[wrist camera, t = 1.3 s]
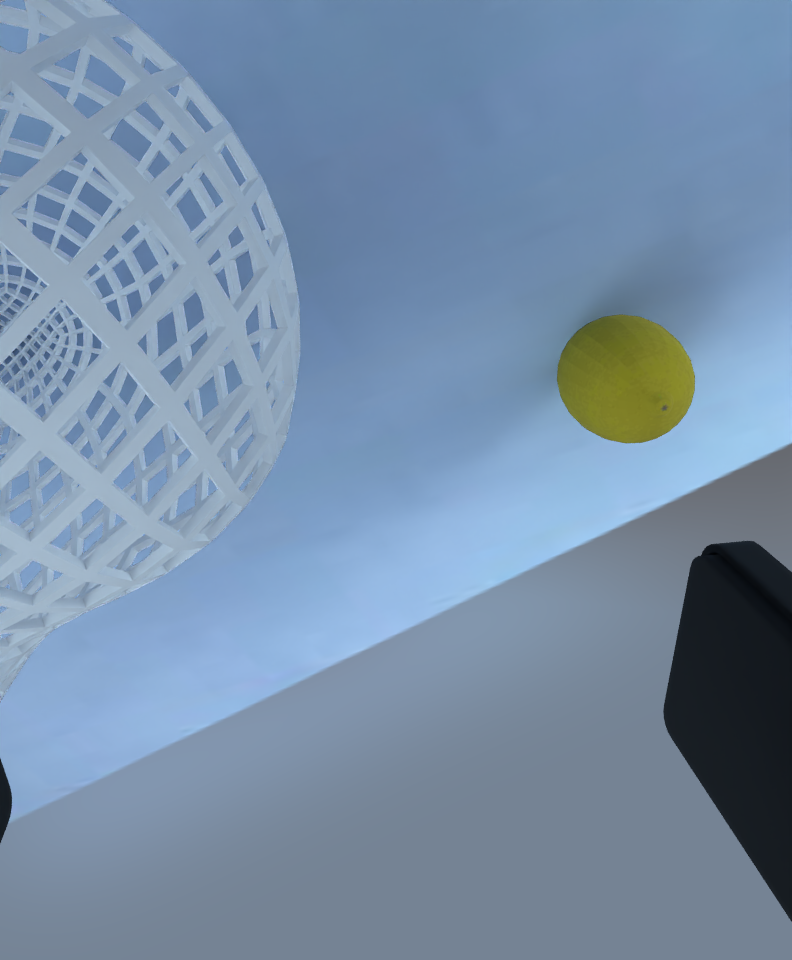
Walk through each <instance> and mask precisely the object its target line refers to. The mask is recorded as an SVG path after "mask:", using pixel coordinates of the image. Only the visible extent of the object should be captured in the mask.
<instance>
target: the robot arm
mask: <svg viewBox="0 0 792 960" xmlns="http://www.w3.org/2000/svg"><path fill="white" fill-rule="evenodd" d="M664 720H665V725H666V728H667V730H668V733H669V734H670V736H671V738H672V740H673V741H674V743H675V744H676V746H677V747H678V749H679V750H680V752H681V753H682V755H683V756H684V758H685V760H686V761H687V763H688V764H689V765H690V767H691V769H692V770H693V772H694V773H695V775H696V776H697V778H698V779H699V781H700V782H701V784H702V786H703V787H704V788H705V790H706V792H707V793H708V795H709V796H710V798H711V799H712V801H713V802H714V804H715V805H716V807H717V808H718V810H719V811H720V813H721V815H722V816H723V817H724V819H725V821H726V822H727V824H728V825H729V827H730V828H731V829H732V831H733V833H734V834H735V836H736V837H737V839H738V840H739V842H740V844H741V845H742V847H743V848H744V849H745V851H746V853H747V854H748V856H749V857H750V859H751V860H752V862H753V863H754V865H755V866H756V868H757V870H758V871H759V872H760V874H761V876H762V877H763V879H764V880H765V882H766V883H767V885H768V886H769V888H770V889H771V891H772V892H773V894H774V895H775V897H776V899H777V900H778V901H779V903H780V904H781V906H782V908H783V909H784V911H785V912H786V914H787V915H788V917H789V918H790V920H791V921H792V572H791V571H789V570H788V569H787V568H786V567H785V566H784V565H782V564H781V563H780V562H779V561H778V560H776V559H775V558H774V557H773V556H772V555H770V553H768V552H767V551H766V550H765V549H764V548H762V547H761V546H760V545H759V544H757V543H755V542H754V541H742V542H731V543H720V544H711V545H709V546H707V547H706V548H705V549H704V551H703V552H702V555H701V556H698V557H696V558H695V559H694V560H693V561H692V564H691V567H690V572H689V577H688V583H687V588H686V593H685V599H684V604H683V609H682V614H681V619H680V625H679V630H678V635H677V640H676V645H675V651H674V656H673V661H672V667H671V672H670V677H669V683H668V688H667V693H666V698H665V703H664ZM11 808H12V795H11V789H10V786H9V783H8V780H7V777H6V774H5V771H4V768H3V765H2V762H1V759H0V843H1V840H2V837H3V835H4V832H5V830H6V827H7V824H8V822H9V818H10V814H11Z"/></svg>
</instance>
